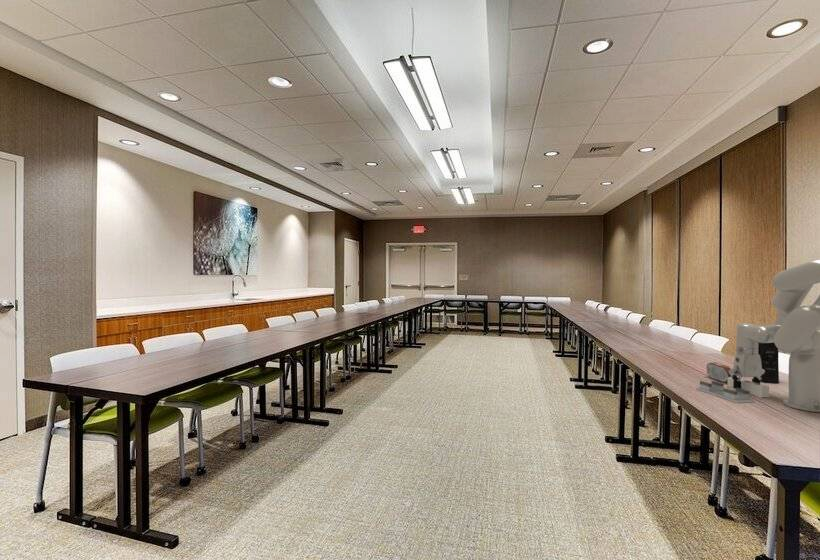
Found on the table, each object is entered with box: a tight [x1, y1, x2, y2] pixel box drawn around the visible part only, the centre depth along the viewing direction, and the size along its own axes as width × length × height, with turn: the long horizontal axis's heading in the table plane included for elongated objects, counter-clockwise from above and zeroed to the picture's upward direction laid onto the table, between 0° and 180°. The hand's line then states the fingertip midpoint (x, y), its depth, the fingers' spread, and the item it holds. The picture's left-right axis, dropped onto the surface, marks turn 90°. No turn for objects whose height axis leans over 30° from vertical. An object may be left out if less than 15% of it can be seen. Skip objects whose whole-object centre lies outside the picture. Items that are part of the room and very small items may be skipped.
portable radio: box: [758, 342, 780, 384], centre depth 194 cm, size 8×6×25 cm
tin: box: [706, 362, 732, 384], centre depth 196 cm, size 15×3×8 cm, turn 179°
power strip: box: [727, 377, 770, 398], centre depth 177 cm, size 16×4×5 cm, turn 7°
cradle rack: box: [695, 380, 755, 404], centre depth 172 cm, size 20×8×4 cm, turn 7°
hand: (746, 388), depth 177 cm, fingers open, 9 cm apart
